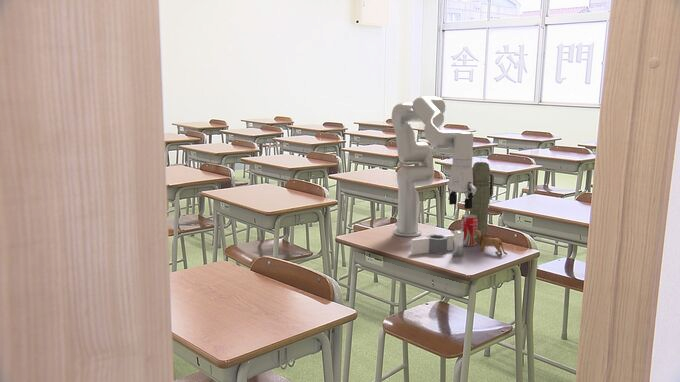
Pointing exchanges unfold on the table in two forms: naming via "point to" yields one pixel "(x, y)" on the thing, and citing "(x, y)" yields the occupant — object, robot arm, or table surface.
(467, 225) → the soda can
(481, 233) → the lion figurine
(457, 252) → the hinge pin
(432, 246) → the hinge
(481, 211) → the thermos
